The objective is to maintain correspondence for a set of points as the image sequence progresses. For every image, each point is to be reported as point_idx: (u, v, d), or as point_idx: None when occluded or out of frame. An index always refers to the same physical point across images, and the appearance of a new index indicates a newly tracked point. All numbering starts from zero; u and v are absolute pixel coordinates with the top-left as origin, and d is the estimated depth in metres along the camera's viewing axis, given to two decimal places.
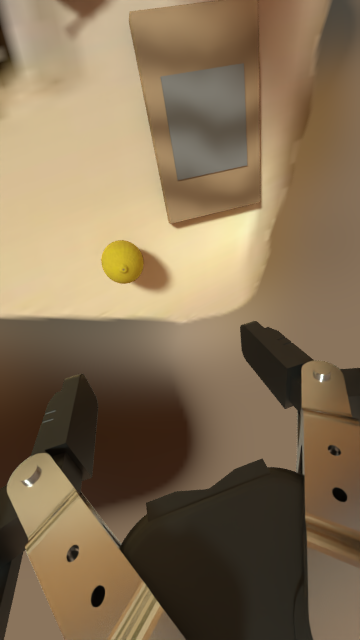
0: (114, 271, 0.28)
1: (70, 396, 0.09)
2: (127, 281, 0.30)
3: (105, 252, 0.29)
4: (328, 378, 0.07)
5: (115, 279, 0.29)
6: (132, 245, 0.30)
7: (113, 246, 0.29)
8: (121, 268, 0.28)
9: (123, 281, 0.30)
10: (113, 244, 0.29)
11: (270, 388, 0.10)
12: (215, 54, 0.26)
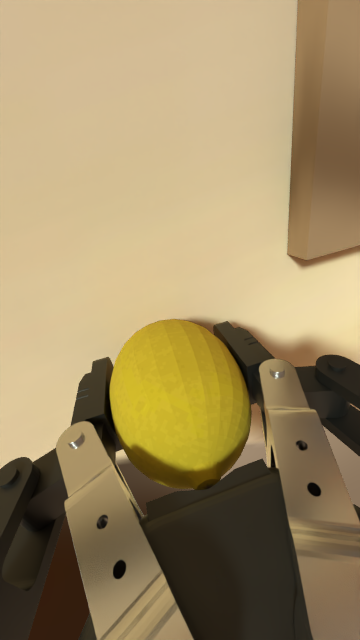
0: (167, 481, 0.07)
1: (101, 375, 0.10)
2: None
3: (126, 390, 0.08)
4: (281, 375, 0.08)
5: None
6: (219, 350, 0.09)
7: (160, 373, 0.07)
8: (202, 484, 0.06)
9: None
10: (155, 357, 0.08)
11: None
12: None
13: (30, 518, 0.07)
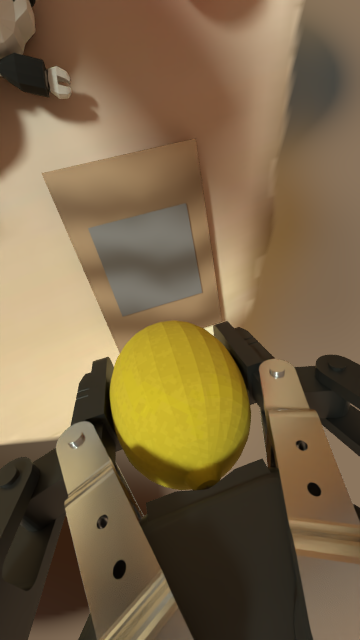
0: (167, 482, 0.07)
1: (101, 375, 0.10)
2: None
3: (126, 391, 0.08)
4: (281, 375, 0.08)
5: None
6: (218, 352, 0.09)
7: (159, 374, 0.07)
8: (201, 485, 0.06)
9: None
10: (155, 358, 0.08)
11: None
12: (151, 198, 0.23)
13: (30, 518, 0.07)
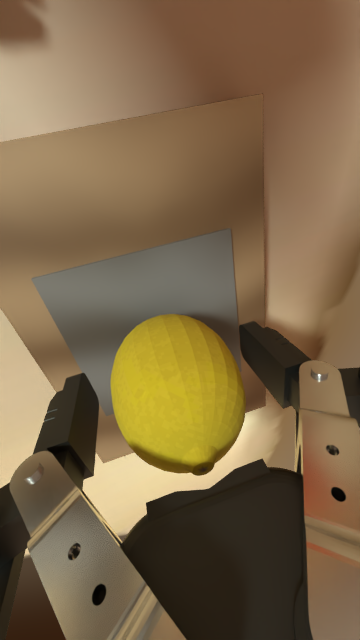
0: (164, 464, 0.07)
1: (72, 395, 0.09)
2: None
3: (126, 379, 0.08)
4: (326, 378, 0.07)
5: None
6: (215, 343, 0.09)
7: (158, 363, 0.08)
8: (197, 466, 0.07)
9: None
10: (154, 348, 0.08)
11: (268, 388, 0.10)
12: (163, 219, 0.11)
13: None
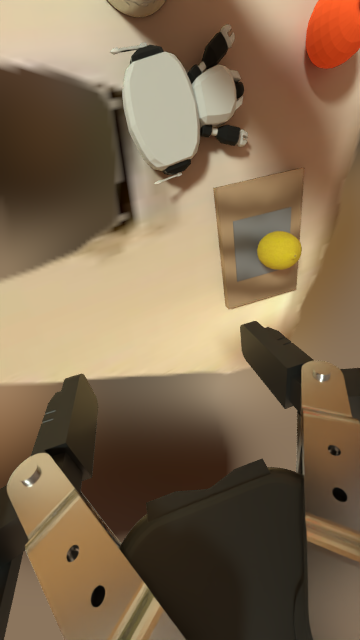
0: (285, 257, 0.32)
1: (70, 396, 0.09)
2: (288, 267, 0.34)
3: (273, 241, 0.33)
4: (328, 378, 0.07)
5: (280, 265, 0.33)
6: None
7: (282, 236, 0.33)
8: (294, 254, 0.32)
9: (285, 267, 0.34)
10: (279, 234, 0.33)
11: (270, 388, 0.10)
12: (271, 203, 0.36)
13: None
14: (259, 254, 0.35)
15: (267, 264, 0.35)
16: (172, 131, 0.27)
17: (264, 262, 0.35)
